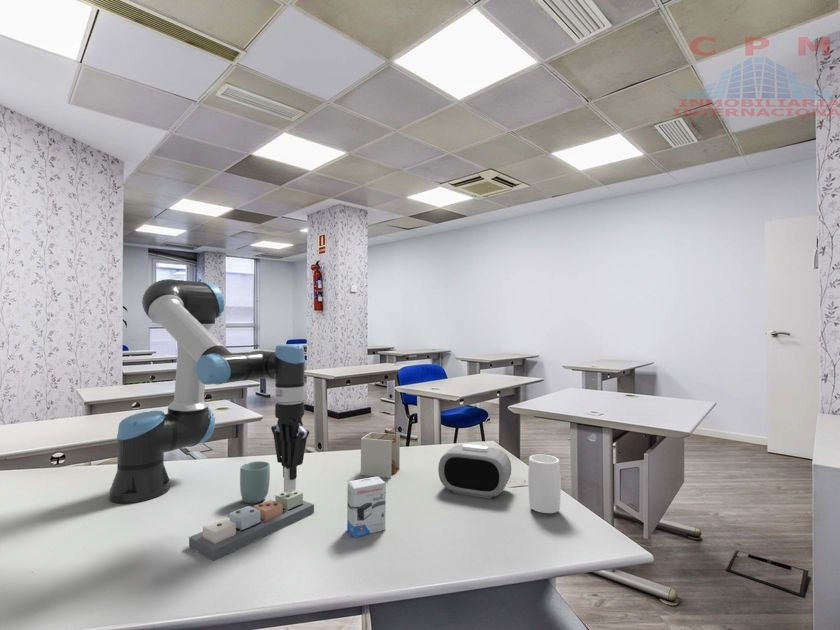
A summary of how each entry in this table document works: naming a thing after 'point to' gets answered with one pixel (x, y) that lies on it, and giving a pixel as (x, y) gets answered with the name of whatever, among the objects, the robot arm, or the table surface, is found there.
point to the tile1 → (219, 531)
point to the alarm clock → (475, 470)
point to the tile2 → (245, 517)
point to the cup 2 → (544, 483)
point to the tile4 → (289, 499)
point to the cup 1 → (254, 481)
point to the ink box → (366, 506)
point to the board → (249, 533)
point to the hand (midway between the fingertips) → (289, 490)
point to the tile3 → (269, 509)
